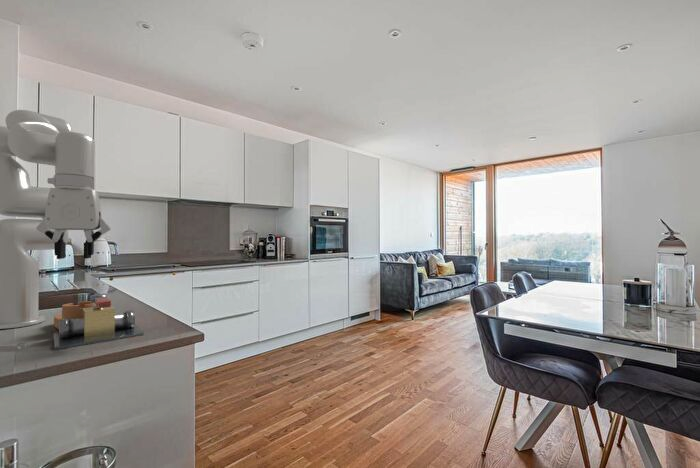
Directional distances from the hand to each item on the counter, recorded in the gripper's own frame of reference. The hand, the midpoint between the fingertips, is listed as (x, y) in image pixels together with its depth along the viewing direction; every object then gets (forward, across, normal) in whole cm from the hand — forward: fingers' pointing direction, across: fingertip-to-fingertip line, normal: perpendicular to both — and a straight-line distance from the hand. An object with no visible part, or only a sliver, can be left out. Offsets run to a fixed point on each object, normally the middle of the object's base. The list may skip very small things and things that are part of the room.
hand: (74, 257), depth 81 cm
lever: (+12, +5, +3) cm, 13 cm away
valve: (+21, +3, +8) cm, 23 cm away
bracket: (+21, -5, +19) cm, 29 cm away
